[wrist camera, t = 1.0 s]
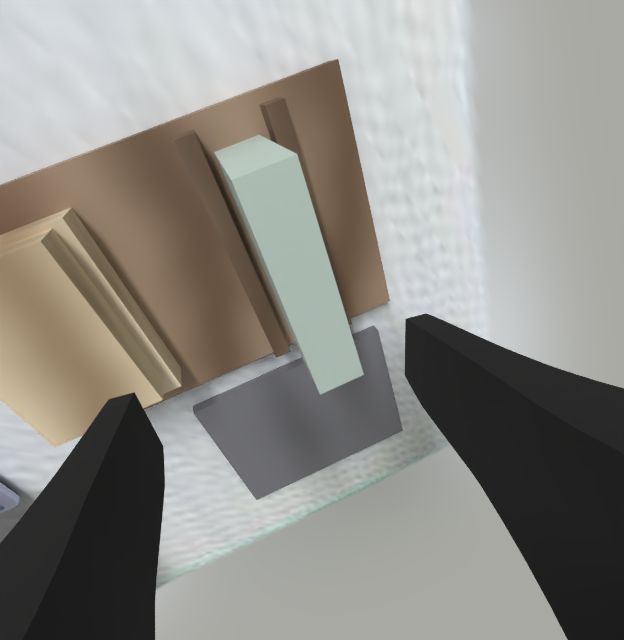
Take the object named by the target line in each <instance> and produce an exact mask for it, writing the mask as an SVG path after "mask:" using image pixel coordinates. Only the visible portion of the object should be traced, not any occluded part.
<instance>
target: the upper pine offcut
mask: <svg viewBox="0 0 624 640" xmlns="http://www.w3.org/2000/svg"><path fill="white" fill-rule="evenodd" d="M163 385H164V379H163V377H162V376H161V375H160V373H159V372H158V371H157V369H156V368H155V367H154V365H153V364H152V363H151V361H150V360H149V358H148V357H147V356H146V354H145V353H144V352H143V350H142V349H141V348H140V346H139V345H138V344H137V342H136V341H135V339H134V338H133V337H132V335H131V334H130V333H129V331H128V330H127V329H126V327H125V326H124V324H123V323H122V322H121V320H120V319H119V318H118V316H117V315H116V314H115V312H114V311H113V310H112V308H111V307H110V305H109V304H108V303H107V301H106V300H105V299H104V297H103V296H102V295H101V293H100V292H99V291H98V289H97V288H96V286H95V285H94V284H93V282H92V281H91V280H90V278H89V277H88V276H87V274H86V273H85V272H84V270H83V269H82V267H81V266H80V265H79V263H78V262H77V261H76V259H75V258H74V257H73V255H72V254H71V252H70V251H69V250H68V248H67V247H66V246H65V244H64V243H63V242H62V240H61V239H60V238H59V236H58V235H57V233H56V232H55V231H54V229H53V228H51V229H49V230H46V231H44V232H41V233H38V234H36V235H33V236H31V237H28V238H26V239H23V240H21V241H18V242H15V243H13V244H10V245H8V246H5V247H3V248H0V400H1V401H3V402H4V403H5V404H6V405H7V406H8V407H9V408H11V409H12V410H13V411H14V412H15V413H16V414H17V415H19V416H20V417H21V418H22V419H23V420H24V421H25V422H27V423H28V424H29V425H30V426H31V427H32V428H33V429H34V430H36V431H37V432H38V433H39V434H40V435H41V436H42V437H44V438H45V439H46V440H47V441H48V442H49V443H50V444H52V445H53V446H54V447H57V446H59V445H62V444H64V443H66V442H68V441H71V440H73V439H75V438H78V437H80V436H82V435H84V433H85V432H86V431H87V429H88V428H89V426H90V425H91V423H92V422H93V420H94V419H95V418H96V416H97V415H98V413H99V412H100V410H101V409H102V408H103V406H104V405H105V404H106V402H107V401H108V400H109V399H111V398H115V397H119V396H122V395H126V394H130V393H133V392H135V394H136V396H137V398H138V400H139V401H140V403H141V405H142V407H143V408H145V407H148V406H150V405H152V404H154V403H157V402H159V401H161V400H163Z"/></svg>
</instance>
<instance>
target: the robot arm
mask: <svg viewBox="0 0 624 640" xmlns="http://www.w3.org/2000/svg"><path fill="white" fill-rule="evenodd" d="M405 376H406V378H407V380H408V382H409V384H410V386H411V387H412V389H413V391H414V393H415V395H416V396H417V398H418V400H419V401H420V403H421V405H422V406H423V408H424V409H425V410H426V412H427V413H428V415H429V416H430V417H431V419H432V420H433V421H434V423H435V424H436V425H437V427H438V428H439V429H440V431H441V432H442V433H443V435H444V436H445V437H446V439H447V440H448V441H449V443H450V444H451V445H452V447H453V448H454V449H455V451H456V452H457V453H458V455H459V456H460V457H461V459H462V460H463V461H464V462H465V464H466V465H467V467H468V468H469V469H470V471H471V472H472V473H473V475H474V476H475V478H476V479H477V480H478V482H479V484H480V485H481V486H482V488H483V490H484V491H485V493H486V495H487V496H488V498H489V499H490V501H491V503H492V504H493V506H494V508H495V509H496V511H497V513H498V514H499V516H500V517H501V519H502V521H503V522H504V524H505V526H506V528H507V529H508V531H509V533H510V535H511V536H512V538H513V540H514V541H515V543H516V545H517V547H518V548H519V550H520V552H521V553H522V555H523V557H524V559H525V560H526V562H527V564H528V566H529V568H530V570H531V571H532V573H533V575H534V577H535V579H536V580H537V582H538V584H539V586H540V588H541V590H542V591H543V593H544V595H545V597H546V599H547V601H548V602H549V604H550V606H551V608H552V610H553V612H554V614H555V616H556V618H557V620H558V622H559V624H560V626H561V627H562V629H563V631H564V633H565V635H566V637H567V639H568V640H624V388H620V387H616V386H613V385H609V384H606V383H602V382H599V381H595V380H592V379H589V378H586V377H583V376H579V375H576V374H573V373H570V372H567V371H564V370H561V369H558V368H555V367H552V366H549V365H546V364H543V363H541V362H538V361H536V360H533V359H531V358H528V357H526V356H523V355H520V354H518V353H515V352H513V351H511V350H508V349H505V348H503V347H501V346H499V345H496V344H494V343H492V342H489V341H487V340H485V339H483V338H480V337H478V336H476V335H474V334H472V333H469V332H467V331H465V330H463V329H461V328H458V327H456V326H454V325H452V324H450V323H447V322H445V321H443V320H441V319H438V318H436V317H434V316H431V315H429V314H422V315H419V316H415V317H411V318H408V319H406V332H405ZM164 488H165V477H164V453H163V445H162V443H161V441H160V439H159V438H158V436H157V434H156V432H155V430H154V428H153V426H152V424H151V422H150V420H149V419H148V417H147V415H146V413H145V411H144V409H143V407H142V405H141V403H140V401H139V400H138V398H137V396H136V394H135V392H133V393H130V394H126V395H122V396H119V397H115V398H111V399H109V400H108V401H107V402H106V404H105V405H104V406H103V408H102V409H101V410H100V412H99V413H98V415H97V416H96V418H95V419H94V420H93V422H92V423H91V425H90V426H89V428H88V429H87V431H86V432H85V433H84V435H83V436H82V438H81V439H80V441H79V442H78V444H77V445H76V446H75V448H74V449H73V451H72V452H71V453H70V455H69V456H68V457H67V459H66V460H65V462H64V463H63V464H62V466H61V467H60V469H59V470H58V471H57V473H56V474H55V476H54V477H53V478H52V479H51V481H50V482H49V483H48V485H47V486H46V487H45V488H44V490H43V491H42V492H41V494H40V495H39V496H38V497H37V499H36V500H35V501H34V503H33V504H32V505H31V506H30V508H29V509H28V510H27V512H26V513H25V514H24V515H23V517H22V518H21V519H20V521H19V522H18V523H17V524H16V526H15V527H14V528H13V529H12V530H11V532H10V533H9V534H8V535H7V536H6V537H5V539H4V540H3V541H2V542H1V543H0V640H155V592H156V576H157V565H158V555H159V544H160V533H161V523H162V512H163V500H164ZM19 500H20V497H19V496H18V495H17V494H16V493H14V492H13V491H12V490H10V489H9V488H7V487H6V486H5V485H3V484H2V483H0V514H1V513H4V512H6V511H8V510H10V509H12V508H14V507H16V506H17V505H18V503H19Z"/></svg>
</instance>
